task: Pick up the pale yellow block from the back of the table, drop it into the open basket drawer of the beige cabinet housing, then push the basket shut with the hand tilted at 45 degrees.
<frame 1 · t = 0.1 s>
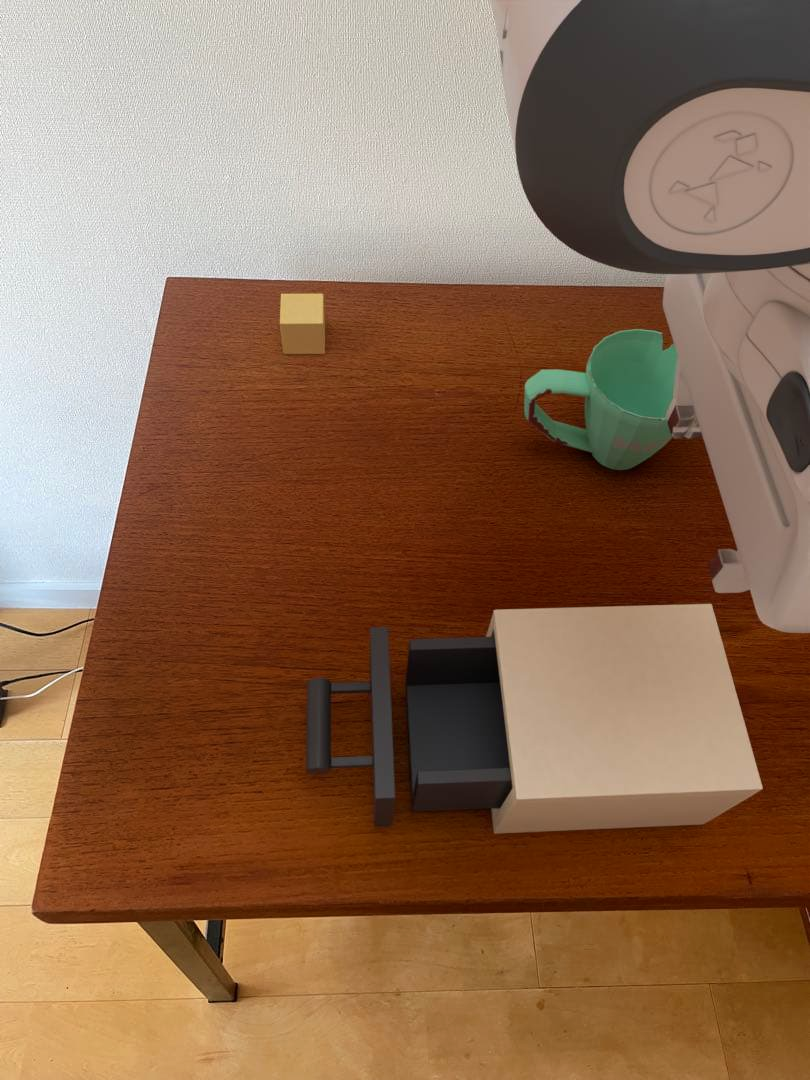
hand: (702, 500, 42), 23 cm above the table, tool pointing down, fingers open, 8 cm apart
drawer: (441, 725, 54), point 5 cm above the table, slide at 7.0 cm
mug: (589, 450, 73), on the table
beige cabinet housing: (584, 741, 58), on the table
block: (304, 339, 78), on the table
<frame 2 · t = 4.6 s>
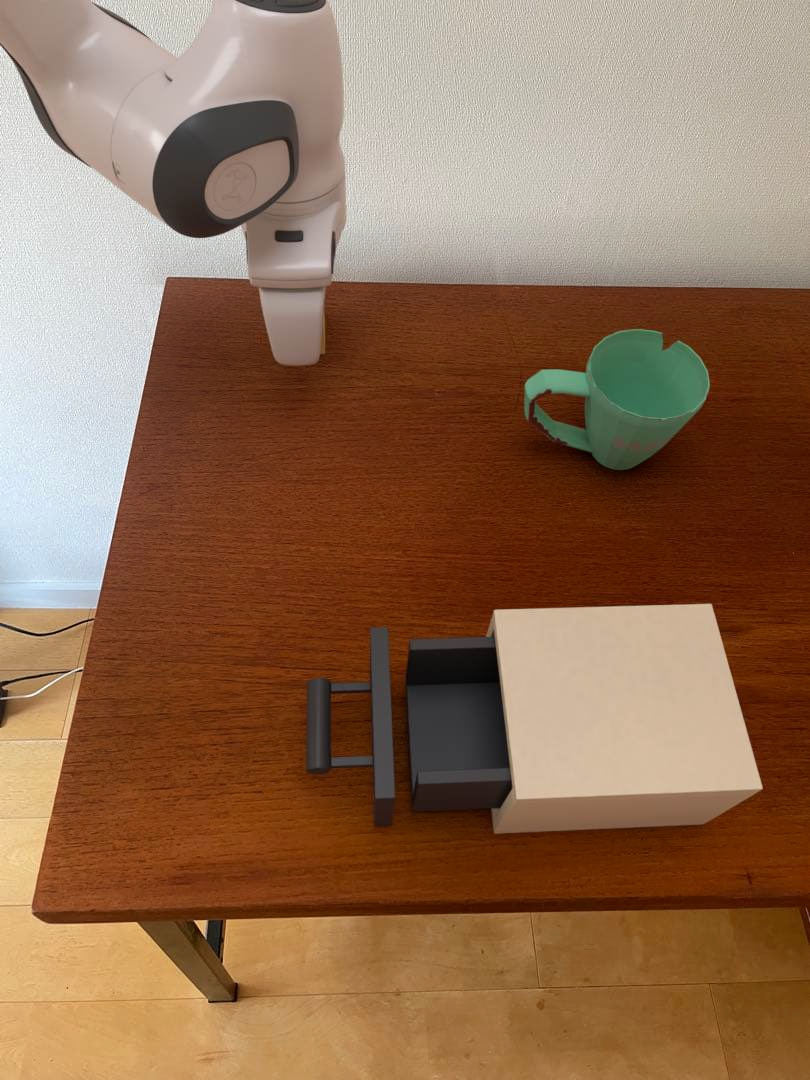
hand: (303, 327, 77), 2 cm above the table, tool pointing down, fingers closed on block, 4 cm apart
block: (304, 339, 78), on the table, touching gripper
everything else where it was.
when the fingers open (9 cm above the table, at t = 11.9 s): block drops 5 cm, resting on drawer.
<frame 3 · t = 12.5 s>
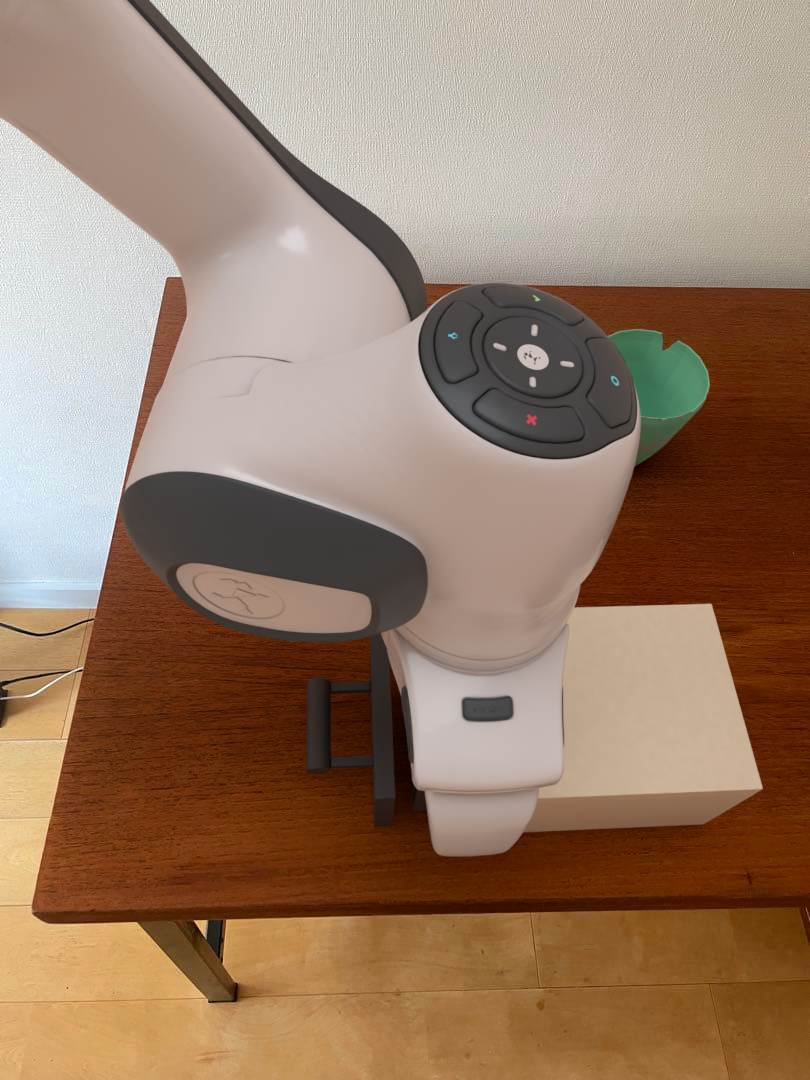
hand: (445, 699, 49), 10 cm above the table, tool pointing down, fingers open, 8 cm apart
drawer: (441, 725, 54), point 5 cm above the table, slide at 7.0 cm, touching block
block: (437, 738, 56), point 2 cm above the table, touching drawer
everything else where it was.
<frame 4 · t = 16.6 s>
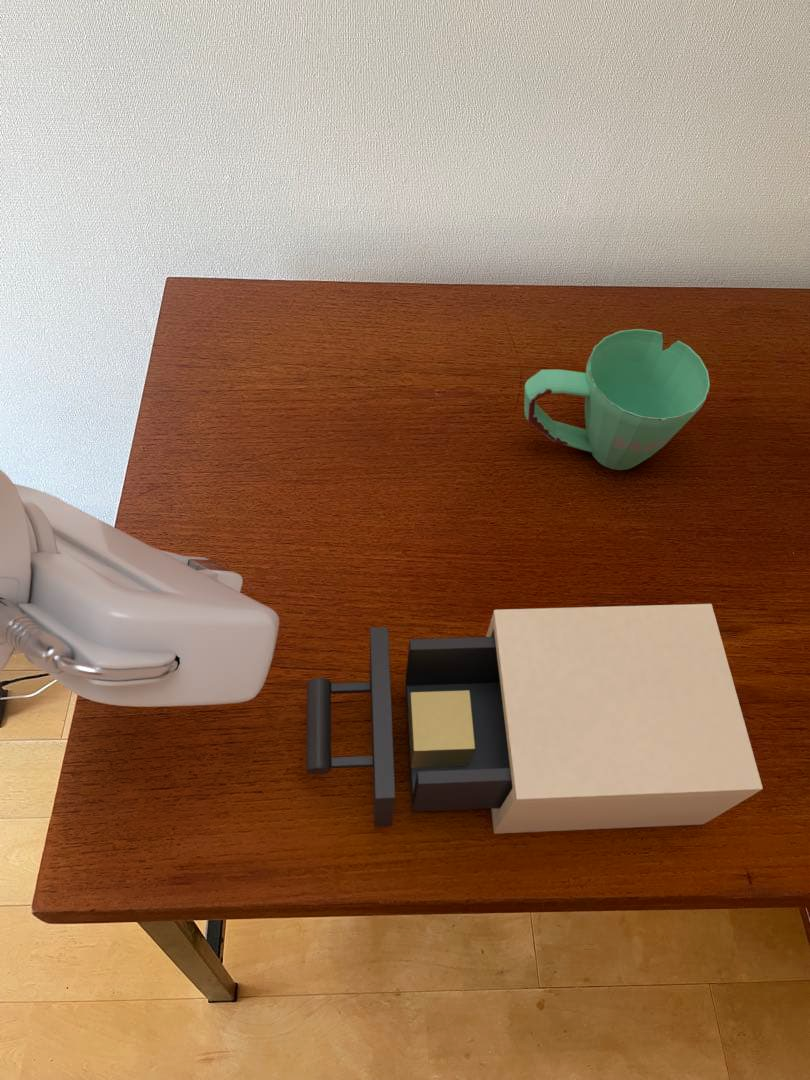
hand: (223, 582, 41), 21 cm above the table, tool tilted 45°, fingers closed
nothing on the table moved.
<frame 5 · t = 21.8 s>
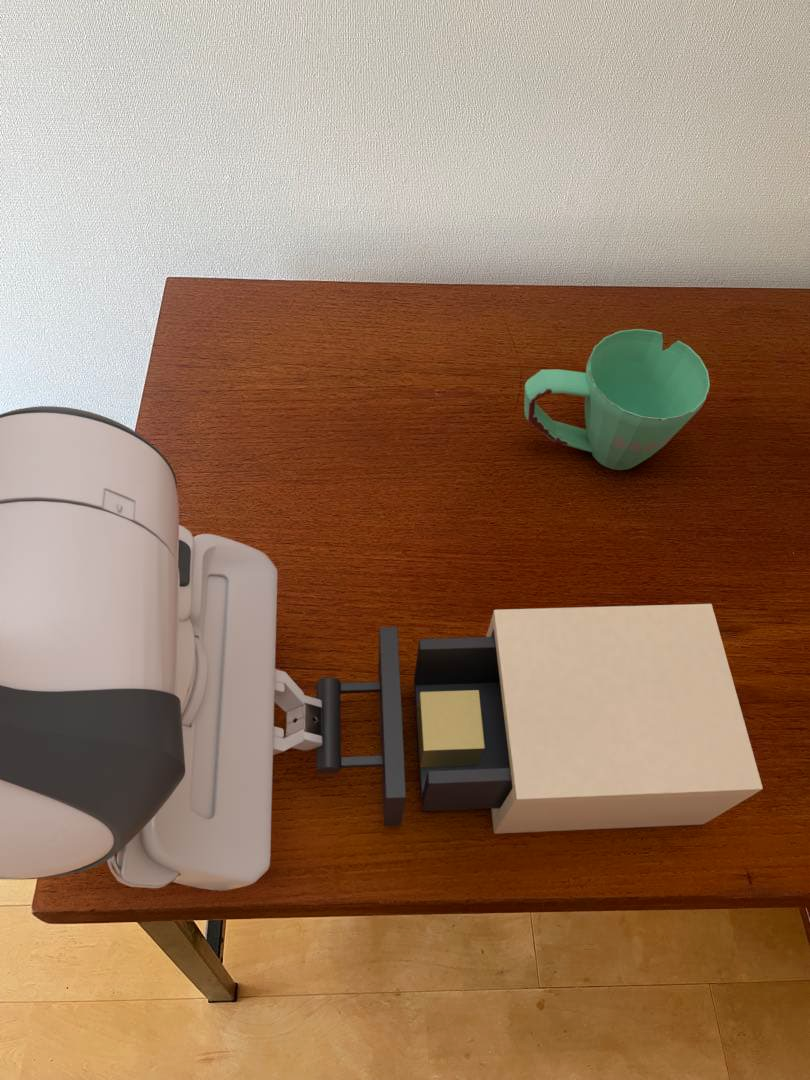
hand: (316, 726, 52), 6 cm above the table, tool tilted 45°, fingers closed, pressing on drawer
drawer: (450, 725, 54), point 5 cm above the table, slide at 6.4 cm, touching block, gripper
everything else where it was.
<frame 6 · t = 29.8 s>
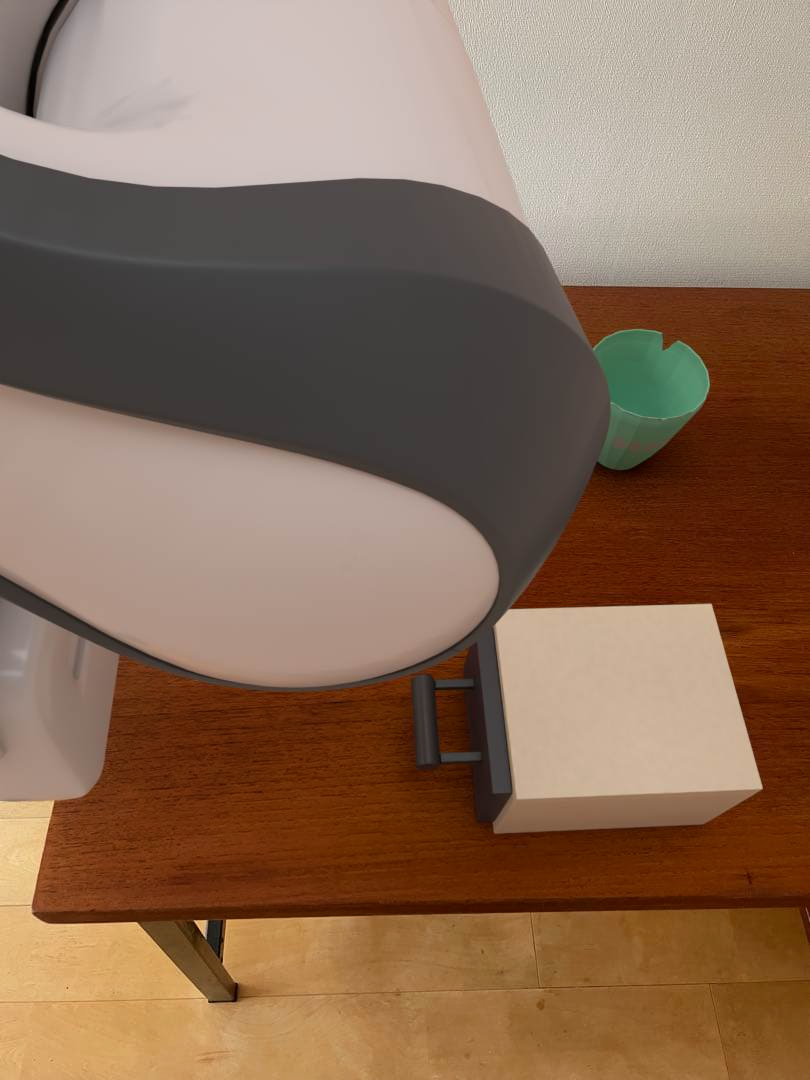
hand: (123, 603, 36), 24 cm above the table, tool pointing down, fingers closed
drawer: (544, 721, 54), point 5 cm above the table, slide at 0.0 cm, touching block
block: (536, 734, 56), point 2 cm above the table, touching drawer
everything else where it was.
at the end: drawer slide at 0.0 cm; block inside the target area in the beige cabinet housing (4.0 cm from its centre), point 2.1 cm above the beige cabinet housing's base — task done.
